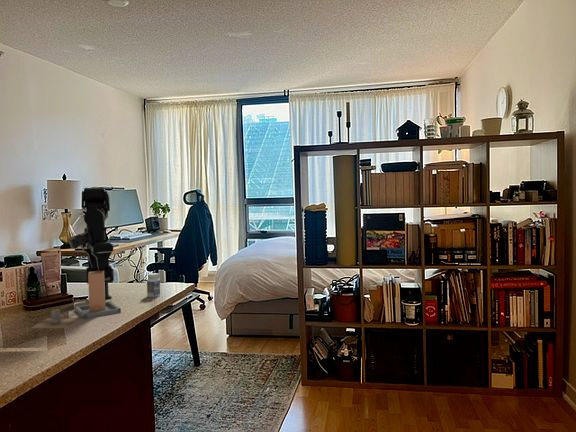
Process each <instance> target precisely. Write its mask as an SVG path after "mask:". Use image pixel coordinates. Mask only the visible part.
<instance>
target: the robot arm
mask: <svg viewBox="0 0 576 432" xmlns="http://www.w3.org/2000/svg"><path fill="white" fill-rule="evenodd" d="M109 195H110V194H109V193H108V191H107V190H105V187H102V186H96V187H95V186H91V187H84V188H83V190H82V191H81V209H86V210H85V213H84V216H83V220H84V223H85V224H86V227H85V228H84V229H83V232H82V233H78V234H76V235H74V236H72V237H69V238H67V242H68V244H69V245H70V248H71V249H73V250H75V249H77V248H79V247H80V248H81V249H82V251H84V252H85V253H86V254H87V255H88V266H87V267H86V284H87V285H89V283H88V273H89V272H94V271H104V280H105V300H109V299H112V296H111V295H109V294H110V293H109V283H112V282H115V281H114V280H115V278H114V277H115V275H114V268H113V267H112V265H110V260H109V259H110V256H111V254H113V252H114V245H113V244H112V243H111V242H109V241H108V239H106V231H107V227H106V224H105V223H106V220H107V219H108V217H109V212H110V211H111V207H110V206H111V205H110V202H111V201H110V196H109Z"/></svg>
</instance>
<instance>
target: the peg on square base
mask: <svg viewBox="0 0 576 432" xmlns="http://www.w3.org/2000/svg"><path fill="white" fill-rule="evenodd" d="M78 320H80V317H61V309H51V311H50V317H47V318H45V319H43V320H42V321H40V322H39V323H37V324H35V325H33V326H32V327H29V330H30V329H31V330H32V329H65V328H67V327H69V326H71V325H72V324H73V323H74V322H77V321H78Z"/></svg>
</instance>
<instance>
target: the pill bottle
mask: <svg viewBox="0 0 576 432" xmlns="http://www.w3.org/2000/svg"><path fill="white" fill-rule="evenodd" d="M159 276H160V273H158V272H157V273H156V272H154V273H153V272H151V273H147V279H146V292H147V297H149V298H156V297H159V296H161V279H160V277H159Z"/></svg>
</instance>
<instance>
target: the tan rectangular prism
mask: <svg viewBox="0 0 576 432" xmlns="http://www.w3.org/2000/svg"><path fill="white" fill-rule="evenodd" d="M88 283H89V284H88V302H89V304H88V305H89V308H90V313H94V312H100V311H105V310H106V307H105V302H106V299H105V280H104V271H94V272H89V273H88Z"/></svg>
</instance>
